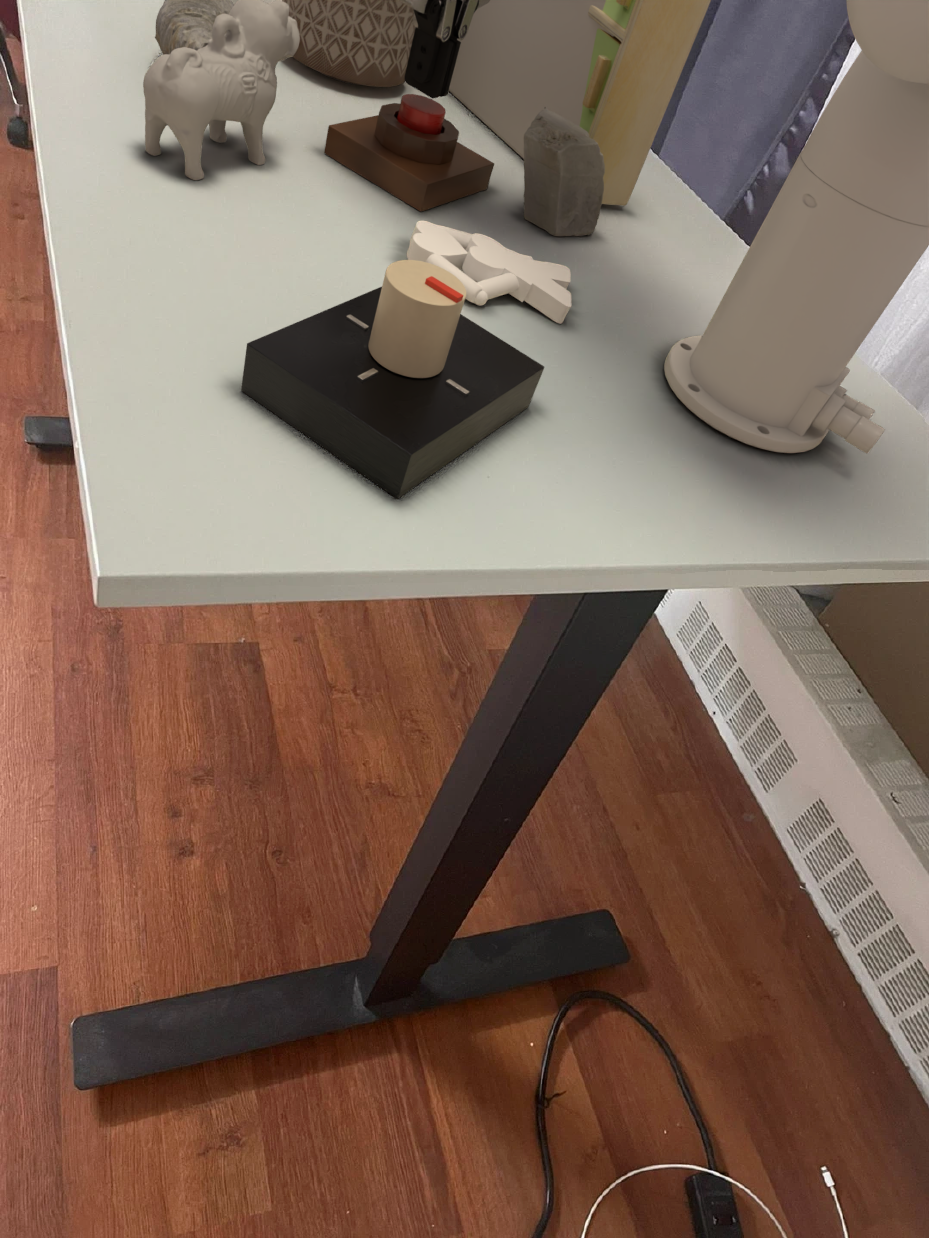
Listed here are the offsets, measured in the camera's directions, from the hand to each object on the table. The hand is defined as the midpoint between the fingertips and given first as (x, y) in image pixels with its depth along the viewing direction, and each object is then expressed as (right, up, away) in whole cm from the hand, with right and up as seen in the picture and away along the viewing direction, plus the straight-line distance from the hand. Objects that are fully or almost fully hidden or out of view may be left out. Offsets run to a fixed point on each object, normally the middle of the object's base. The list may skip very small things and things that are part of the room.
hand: (425, 89), depth 71 cm
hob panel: (-1, -29, -18) cm, 34 cm away
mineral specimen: (+10, -8, +6) cm, 14 cm away
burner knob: (0, -27, -20) cm, 33 cm away
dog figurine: (-16, -7, -3) cm, 17 cm away
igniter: (-2, -4, +4) cm, 6 cm away
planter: (-9, +11, +16) cm, 22 cm away
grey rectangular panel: (+7, +8, +19) cm, 22 cm away
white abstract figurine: (+5, -17, -4) cm, 18 cm away
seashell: (-20, +5, +6) cm, 21 cm away
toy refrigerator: (+13, -1, +13) cm, 18 cm away
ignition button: (-1, -2, +2) cm, 3 cm away
